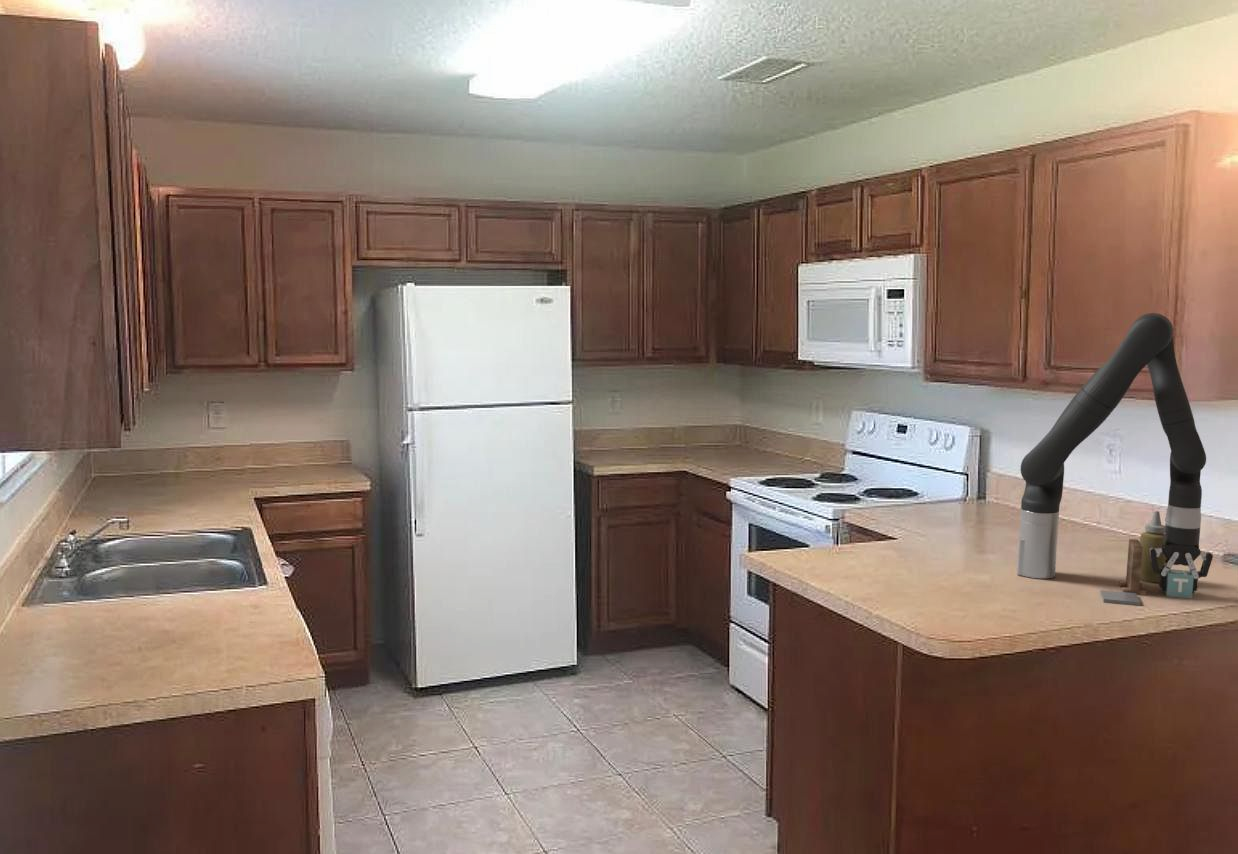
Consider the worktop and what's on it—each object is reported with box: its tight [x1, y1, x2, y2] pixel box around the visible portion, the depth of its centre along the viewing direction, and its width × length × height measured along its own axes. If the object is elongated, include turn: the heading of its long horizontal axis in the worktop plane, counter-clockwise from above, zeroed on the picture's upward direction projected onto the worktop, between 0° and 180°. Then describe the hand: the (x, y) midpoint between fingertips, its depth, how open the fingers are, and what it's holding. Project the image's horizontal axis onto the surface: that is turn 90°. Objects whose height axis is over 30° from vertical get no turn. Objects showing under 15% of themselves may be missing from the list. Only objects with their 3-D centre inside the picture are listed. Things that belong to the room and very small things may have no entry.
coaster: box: [1099, 589, 1142, 607], centre depth 250 cm, size 8×8×1 cm
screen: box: [1118, 538, 1147, 596], centre depth 258 cm, size 5×8×12 cm, turn 161°
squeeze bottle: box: [1138, 510, 1166, 583], centre depth 266 cm, size 8×8×18 cm
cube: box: [1163, 568, 1194, 599], centre depth 255 cm, size 6×6×6 cm
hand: (1177, 591), depth 255 cm, fingers closed on cube, 5 cm apart
